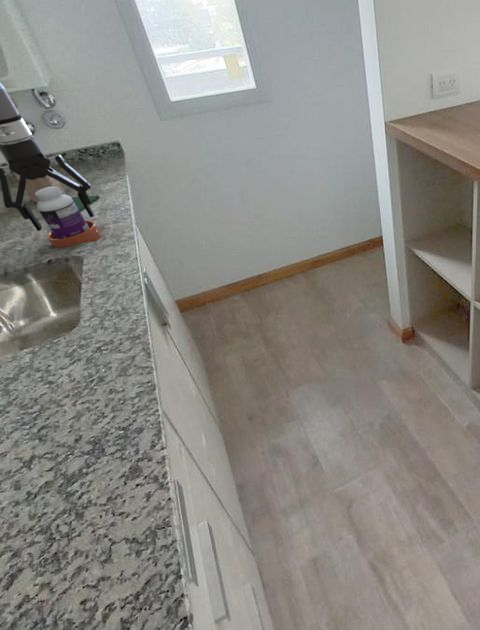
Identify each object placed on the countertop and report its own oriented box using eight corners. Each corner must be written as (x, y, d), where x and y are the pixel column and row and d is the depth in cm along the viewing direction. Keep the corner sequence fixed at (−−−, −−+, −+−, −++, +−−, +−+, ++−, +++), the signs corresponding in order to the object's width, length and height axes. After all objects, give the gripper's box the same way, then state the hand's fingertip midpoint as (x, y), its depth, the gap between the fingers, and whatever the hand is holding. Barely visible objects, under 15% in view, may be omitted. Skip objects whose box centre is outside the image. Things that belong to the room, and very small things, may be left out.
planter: (29, 205, 147) (-17, 135, 133) (36, 195, 155) (-7, 128, 141) (63, 198, 150) (21, 129, 136) (69, 189, 158) (29, 122, 143)
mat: (42, 215, 140) (40, 213, 139) (65, 200, 149) (64, 198, 149) (78, 213, 139) (77, 210, 139) (99, 197, 149) (98, 195, 148)
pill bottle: (56, 242, 123) (23, 193, 114) (85, 230, 127) (56, 182, 119) (68, 249, 119) (35, 199, 110) (98, 236, 124) (69, 187, 115)
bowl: (44, 253, 119) (36, 241, 117) (70, 232, 128) (64, 221, 126) (86, 249, 118) (79, 238, 116) (109, 229, 128) (103, 218, 126)
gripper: (-51, 155, 99) (12, 240, 113) (71, 132, 108) (115, 214, 121) (-43, 147, 104) (15, 230, 118) (72, 126, 113) (114, 205, 127)
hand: (66, 222), depth 120 cm, fingers open, 12 cm apart
